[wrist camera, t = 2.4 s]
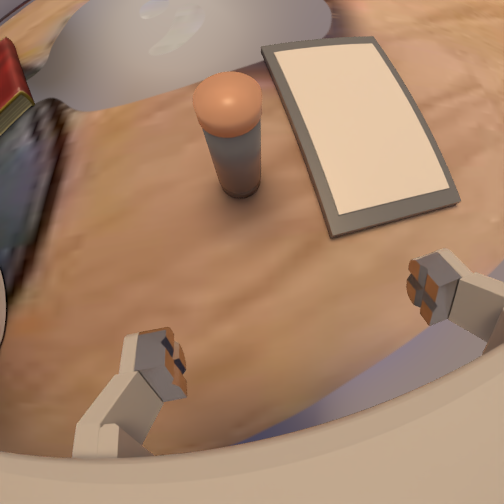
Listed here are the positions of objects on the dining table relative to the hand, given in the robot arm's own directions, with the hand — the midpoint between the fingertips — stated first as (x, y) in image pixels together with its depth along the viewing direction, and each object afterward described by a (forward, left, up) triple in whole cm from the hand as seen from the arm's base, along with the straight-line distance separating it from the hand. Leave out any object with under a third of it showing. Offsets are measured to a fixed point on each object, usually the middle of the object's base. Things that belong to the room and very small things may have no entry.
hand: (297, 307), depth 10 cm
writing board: (+13, +16, -16) cm, 26 cm away
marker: (0, +12, -16) cm, 20 cm away
